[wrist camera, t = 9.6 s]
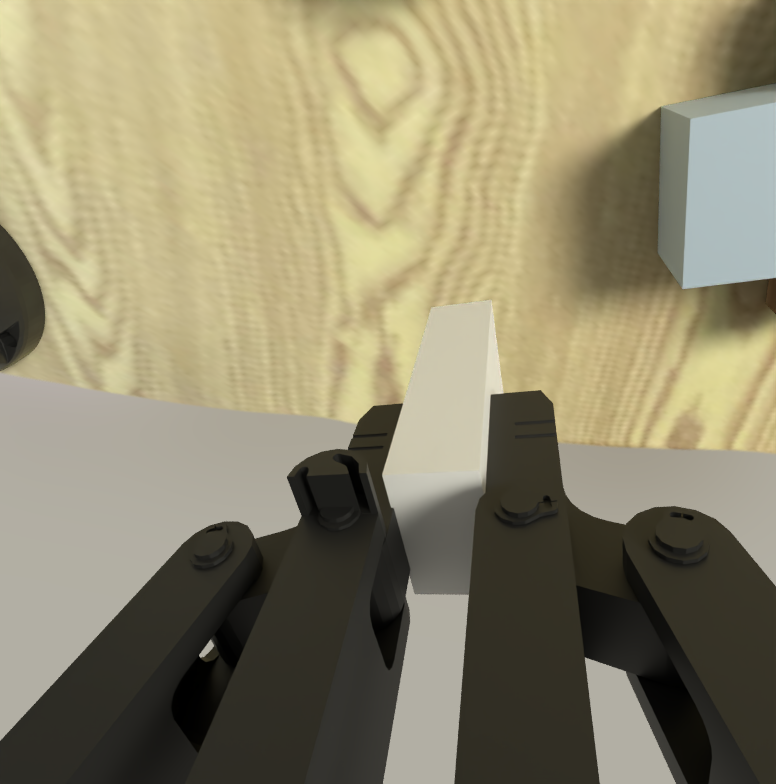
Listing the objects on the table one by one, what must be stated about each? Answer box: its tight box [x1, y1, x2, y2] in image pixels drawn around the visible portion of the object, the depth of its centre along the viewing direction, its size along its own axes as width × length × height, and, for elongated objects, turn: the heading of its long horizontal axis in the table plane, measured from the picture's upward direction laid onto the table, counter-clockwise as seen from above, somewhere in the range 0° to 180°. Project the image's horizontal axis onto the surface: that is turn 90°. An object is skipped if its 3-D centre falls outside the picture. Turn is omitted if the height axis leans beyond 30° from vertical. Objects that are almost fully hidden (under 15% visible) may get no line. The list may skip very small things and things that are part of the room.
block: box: [658, 83, 776, 289], centre depth 28 cm, size 6×8×6 cm
